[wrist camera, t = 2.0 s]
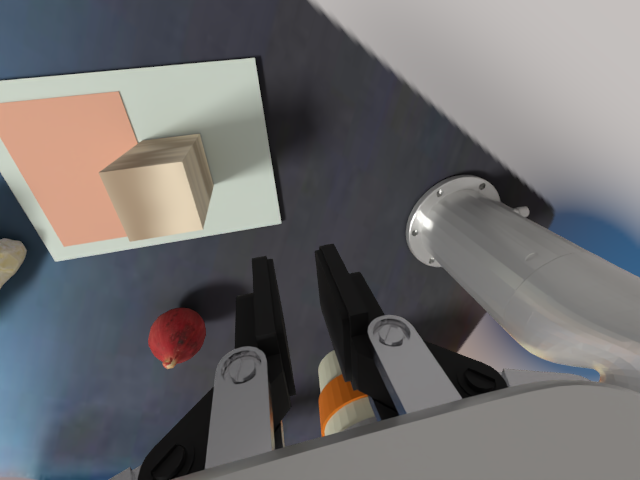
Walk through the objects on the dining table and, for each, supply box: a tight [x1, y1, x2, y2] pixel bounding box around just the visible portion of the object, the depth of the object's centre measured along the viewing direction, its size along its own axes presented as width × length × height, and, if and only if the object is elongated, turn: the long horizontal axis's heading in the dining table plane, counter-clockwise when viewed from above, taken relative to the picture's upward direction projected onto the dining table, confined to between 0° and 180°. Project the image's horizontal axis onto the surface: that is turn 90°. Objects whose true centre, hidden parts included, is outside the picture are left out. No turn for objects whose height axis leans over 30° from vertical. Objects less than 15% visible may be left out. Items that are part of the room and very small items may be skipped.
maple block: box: [99, 133, 214, 242], centre depth 25 cm, size 5×5×10 cm
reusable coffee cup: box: [318, 350, 377, 437], centre depth 43 cm, size 13×12×15 cm
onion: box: [148, 308, 206, 369], centre depth 35 cm, size 6×6×8 cm
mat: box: [0, 58, 281, 262], centre depth 29 cm, size 23×16×1 cm
